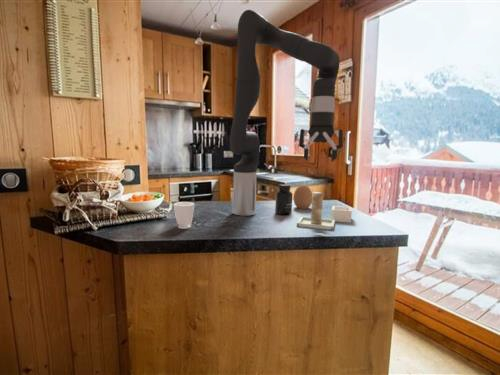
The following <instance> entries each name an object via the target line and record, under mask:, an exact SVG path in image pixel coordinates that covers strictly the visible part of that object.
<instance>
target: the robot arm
mask: <svg viewBox="0 0 500 375" xmlns="http://www.w3.org/2000/svg"><path fill="white" fill-rule="evenodd" d="M256 44H260V45H261V44H262V45H265V46H269V47H272V48H275V49H277V50H279V51H280V52H282V53H283V54H285V55H288V56H289V57H292V58H294V59H296V60H298V61H300V62H305V63H307V64H308V65H311V66H312V67H314V68H316V69H318V75H317V78H316V79H315V80H314V82H313V86H312V100H311V105H310V106H311V108H310V109H311V110H310V126H309V129H304V128H302V129H300V132H299V139H298V140H299V141H298V142H299V143H298V146H299V147H300V148H302V149H303V158H304V159H305V161H309V153H310V149H309V148H310V147H311V146H312V145H313V144H314V143H323V144H325V143H329V145H330V147H331V148H332V150H331V162H335V160H336V159H337V152H338V151H337V150H339V149H342V148H343V146H344V137H343V136H344V130H342V129H339V130H337V129H334V126H335V125H334V124H335V121H334V120H335V110H336V108H335V107H336V106H335V105H336V102H335V100H336V99H335V94H336V93H335V92H336V81H337V78H338V75H339V70H340V56H339V54H338V52H337V51H336V50H335V49H334V48H332V47H331V46H329V45H327V44H325V43H322V42H318V41H315V40H312V39H309V38H308V37H305V36H302V35H301V34H298V33H295V32H291V31H288V30H287V31H286V30H283V29H281V28H279V27H277V26H276V25H274V24H273V23H271V22H270V21H268V20H267V19H266V18H265V17H264V15H262V14H260V13H258V12H257V11H255V10H252V9H246V10H244V11H243V12H242V14H240V16H239V19H238V22H237V67H236V68H237V70H236V78H235V79H236V80H235V96H234V109H233V118H232V123H231V129H230V135H229V149H230V151H231V152H232V154H234V155H237V156H241V159H240V160H239V161H238V162H237V163H235V164H234V165H233V190H231V214H233V215H236V216H242V217H243V216H252V215H253V216H254V215H255V214H257V213H256V212H257V169H258V166H259V162H260V148H261V146H260V144H261V143H260V138H259V137H260V136H259V135H258V134H257V133H256V132H253V131H247V127H248V121H249V118H250V116H251V113H252V111H253V110H254V108H255V107H256V105H257V103H258V102H259V98H260V91H261V74H260V69H259V66H258V62H257V56H256V46H257V45H256ZM307 134H308V135H309V136H310V138H309V140H308V141H307V142H306V144H305V137H306V136H308V135H307ZM335 134H336V137H337V138H338V144H337V145H336V143H335V142H334V140H332V137H333V136H335Z"/></svg>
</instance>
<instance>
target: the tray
mask: <svg viewBox="0 0 500 375" xmlns="http://www.w3.org/2000/svg"><path fill="white" fill-rule="evenodd" d="M335 224H336V221H335V219H331V218H323V217H322V223H321V225H318V224H311V216H300V218H299V219H298V221H297V223H296V227H299V228H307V229H317V230H324V231H325V230H326V231H334V228H335Z"/></svg>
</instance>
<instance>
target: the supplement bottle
mask: <svg viewBox="0 0 500 375" xmlns="http://www.w3.org/2000/svg"><path fill="white" fill-rule="evenodd" d="M274 205H275V206H274V207H275V208H274V210H275V211H274V212H275V214H276V215H278V216H289V215H290V214H292V212H293V209H292V208H293V192H292V191H291V185H290V184H283V183H281V184H278V191H276V193H275V204H274Z"/></svg>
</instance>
